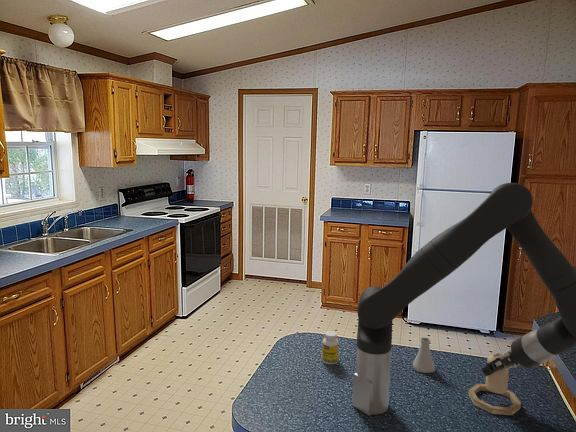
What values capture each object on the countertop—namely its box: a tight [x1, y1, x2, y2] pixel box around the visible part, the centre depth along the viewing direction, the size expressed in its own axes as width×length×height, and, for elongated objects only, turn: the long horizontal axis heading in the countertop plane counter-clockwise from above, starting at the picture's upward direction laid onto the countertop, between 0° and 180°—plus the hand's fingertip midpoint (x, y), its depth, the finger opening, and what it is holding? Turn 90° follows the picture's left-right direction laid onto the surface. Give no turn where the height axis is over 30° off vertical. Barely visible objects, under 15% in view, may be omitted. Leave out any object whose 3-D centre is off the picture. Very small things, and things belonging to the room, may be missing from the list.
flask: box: [412, 336, 436, 374], centre depth 137 cm, size 7×7×10 cm
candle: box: [485, 352, 510, 395], centre depth 119 cm, size 6×6×10 cm
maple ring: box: [468, 383, 522, 416], centre depth 120 cm, size 12×12×2 cm
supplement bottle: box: [321, 330, 339, 365], centre depth 141 cm, size 5×5×10 cm
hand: (491, 370), depth 120 cm, fingers closed on candle, 5 cm apart
